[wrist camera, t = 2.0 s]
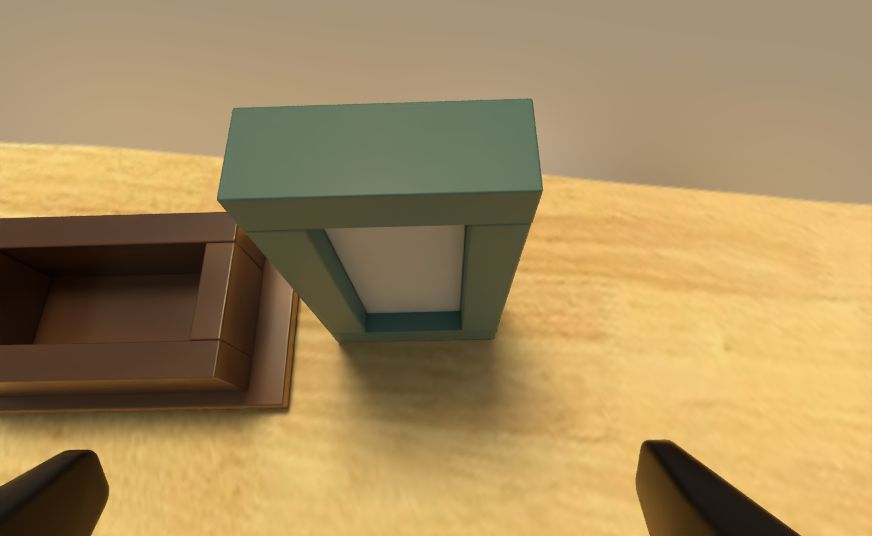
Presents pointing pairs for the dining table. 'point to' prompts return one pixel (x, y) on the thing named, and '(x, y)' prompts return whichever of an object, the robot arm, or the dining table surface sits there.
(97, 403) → the frame holder
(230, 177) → the picture frame
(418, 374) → the dining table surface
